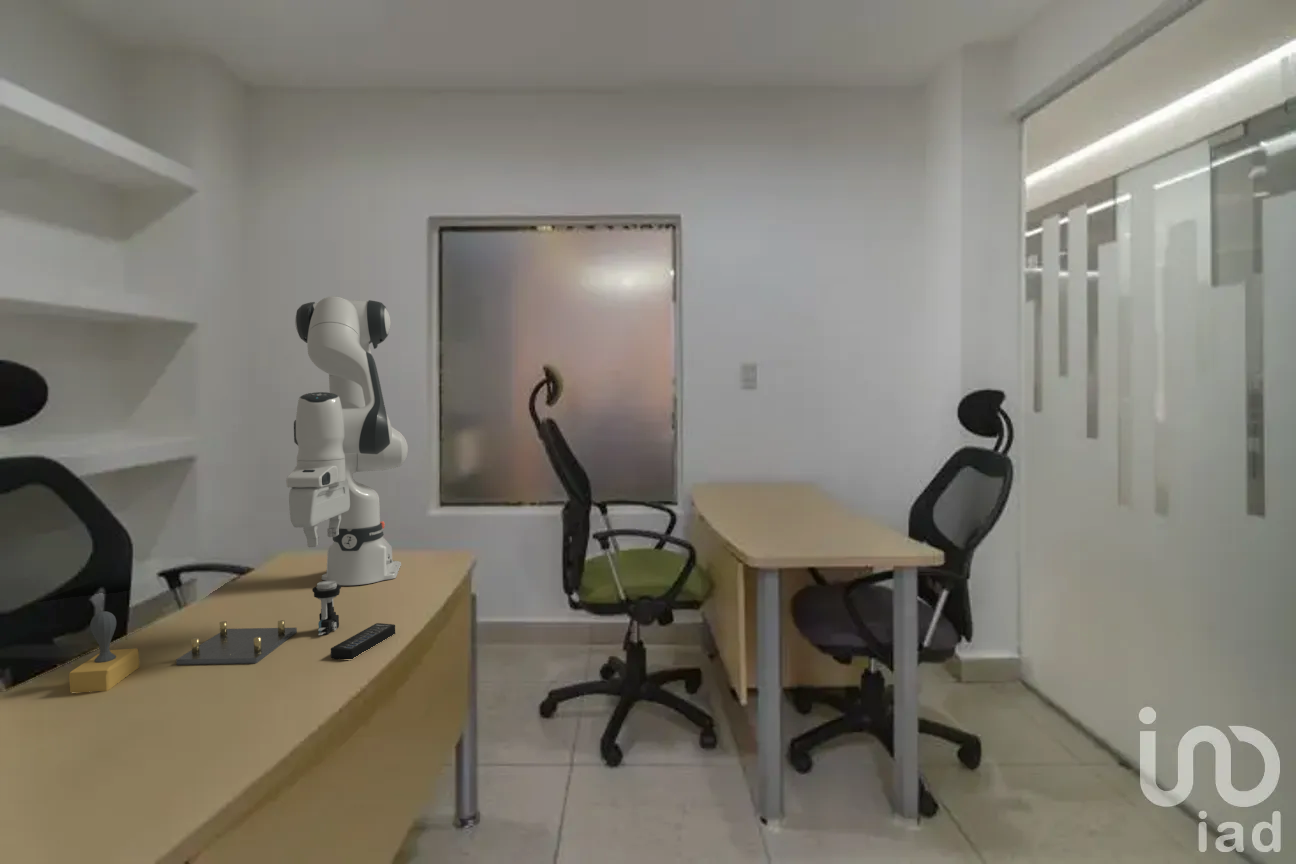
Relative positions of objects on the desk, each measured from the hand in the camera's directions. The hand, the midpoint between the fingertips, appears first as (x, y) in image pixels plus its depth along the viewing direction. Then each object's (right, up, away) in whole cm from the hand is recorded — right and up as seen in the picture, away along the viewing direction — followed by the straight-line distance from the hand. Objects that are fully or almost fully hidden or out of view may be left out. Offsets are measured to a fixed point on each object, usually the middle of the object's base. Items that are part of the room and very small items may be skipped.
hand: (323, 541), depth 141 cm
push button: (0, -19, +1) cm, 19 cm away
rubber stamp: (-27, -21, -22) cm, 40 cm away
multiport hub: (+11, -20, -6) cm, 23 cm away
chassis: (-13, -19, -7) cm, 24 cm away
